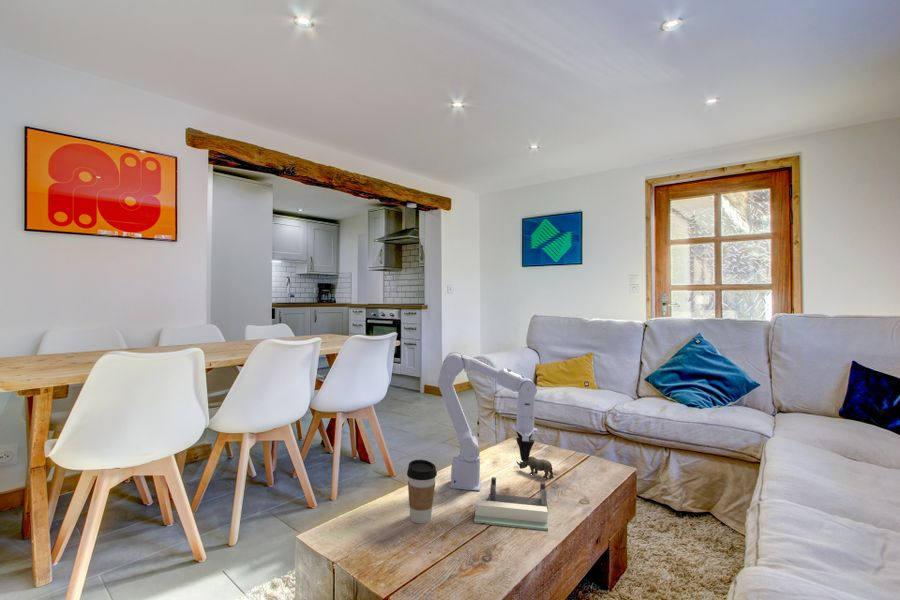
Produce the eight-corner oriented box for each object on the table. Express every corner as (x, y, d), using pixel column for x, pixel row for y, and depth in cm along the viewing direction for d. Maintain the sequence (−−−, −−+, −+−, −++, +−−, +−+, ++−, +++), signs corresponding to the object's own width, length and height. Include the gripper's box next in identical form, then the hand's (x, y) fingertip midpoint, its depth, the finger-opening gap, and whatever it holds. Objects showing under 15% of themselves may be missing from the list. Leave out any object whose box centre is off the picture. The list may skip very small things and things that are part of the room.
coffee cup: (422, 507, 126) (423, 456, 126) (441, 518, 120) (443, 465, 120) (399, 517, 121) (400, 463, 120) (418, 529, 114) (420, 473, 114)
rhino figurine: (518, 467, 159) (519, 451, 159) (554, 476, 152) (555, 459, 152) (514, 471, 156) (514, 454, 156) (550, 480, 148) (551, 463, 148)
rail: (475, 515, 122) (475, 504, 122) (476, 510, 125) (476, 499, 125) (547, 522, 119) (547, 511, 119) (546, 517, 122) (546, 506, 122)
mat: (474, 522, 119) (474, 520, 119) (476, 507, 128) (476, 505, 128) (548, 530, 116) (548, 528, 116) (545, 514, 125) (545, 512, 125)
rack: (487, 506, 128) (488, 486, 128) (489, 496, 135) (489, 477, 135) (548, 512, 126) (548, 492, 126) (546, 501, 133) (546, 482, 133)
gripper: (539, 422, 134) (537, 465, 134) (536, 410, 148) (535, 449, 148) (516, 420, 135) (515, 463, 135) (516, 408, 149) (514, 447, 150)
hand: (524, 456), depth 142 cm, fingers open, 7 cm apart
